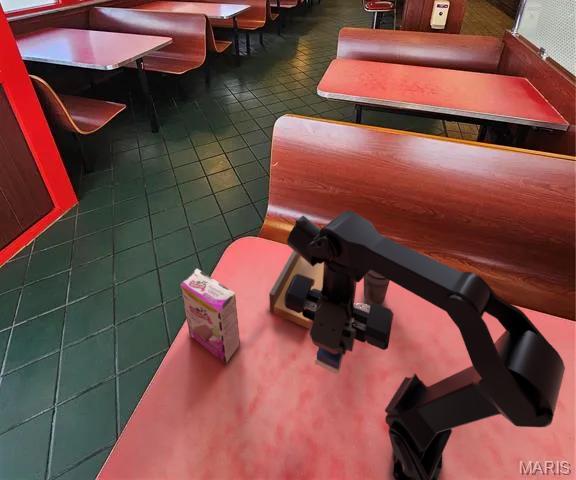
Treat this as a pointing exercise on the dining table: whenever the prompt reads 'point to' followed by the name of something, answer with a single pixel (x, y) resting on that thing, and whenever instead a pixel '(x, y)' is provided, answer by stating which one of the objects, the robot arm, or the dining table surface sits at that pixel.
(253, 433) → the dining table surface
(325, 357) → the navy stepped block
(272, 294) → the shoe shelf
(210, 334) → the candy bar box
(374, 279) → the beverage cup
